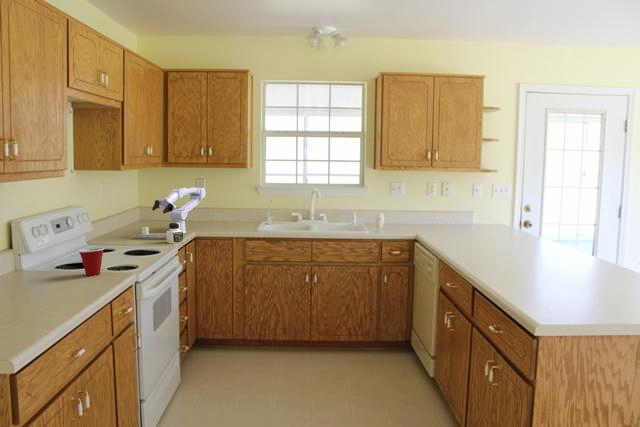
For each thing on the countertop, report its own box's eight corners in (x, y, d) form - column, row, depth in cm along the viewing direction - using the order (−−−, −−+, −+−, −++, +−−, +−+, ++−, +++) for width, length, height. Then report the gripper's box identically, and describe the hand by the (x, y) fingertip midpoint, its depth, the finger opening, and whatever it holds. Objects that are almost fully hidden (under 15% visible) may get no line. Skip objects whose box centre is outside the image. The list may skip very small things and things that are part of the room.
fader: (144, 234, 331) (144, 226, 330) (148, 234, 330) (148, 226, 330) (142, 235, 328) (141, 227, 327) (146, 235, 327) (146, 227, 327)
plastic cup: (97, 270, 239) (96, 245, 238) (110, 273, 233) (109, 248, 231) (74, 275, 230) (73, 249, 229) (87, 278, 224) (86, 251, 223)
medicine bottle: (173, 243, 308) (173, 224, 306) (166, 242, 312) (165, 223, 311) (183, 242, 314) (182, 222, 312) (176, 240, 318) (175, 221, 316)
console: (142, 235, 337) (142, 231, 336) (175, 236, 334) (175, 232, 334) (133, 239, 323) (133, 235, 322) (166, 240, 321) (166, 236, 320)
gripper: (159, 192, 334) (147, 202, 323) (179, 197, 331) (167, 208, 320) (160, 201, 338) (148, 211, 327) (179, 206, 335) (168, 217, 324)
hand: (158, 210), depth 324 cm, fingers open, 7 cm apart
